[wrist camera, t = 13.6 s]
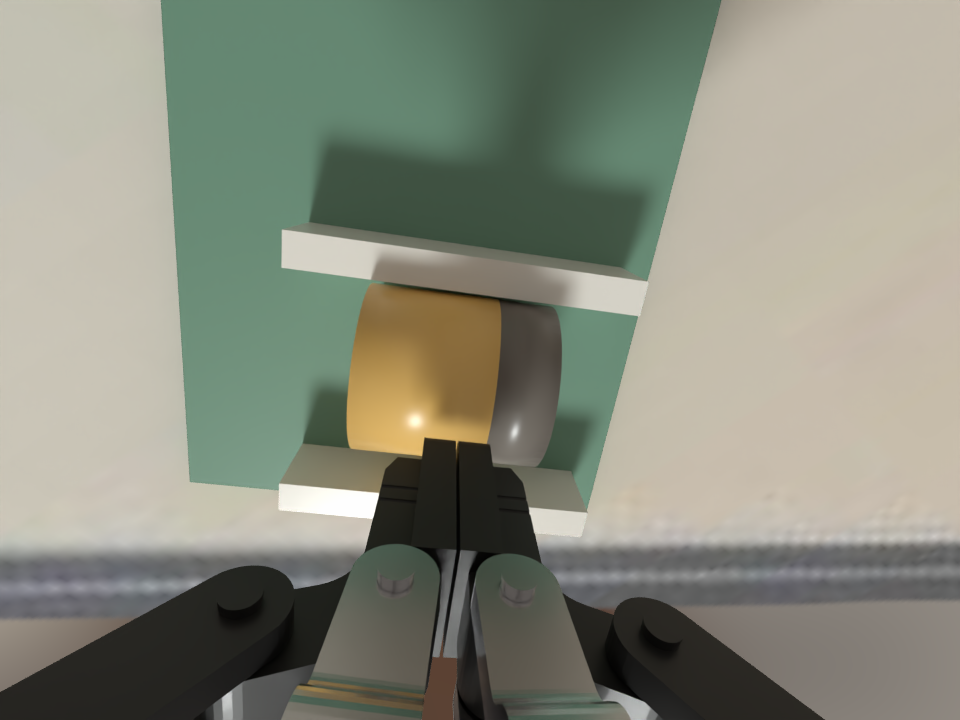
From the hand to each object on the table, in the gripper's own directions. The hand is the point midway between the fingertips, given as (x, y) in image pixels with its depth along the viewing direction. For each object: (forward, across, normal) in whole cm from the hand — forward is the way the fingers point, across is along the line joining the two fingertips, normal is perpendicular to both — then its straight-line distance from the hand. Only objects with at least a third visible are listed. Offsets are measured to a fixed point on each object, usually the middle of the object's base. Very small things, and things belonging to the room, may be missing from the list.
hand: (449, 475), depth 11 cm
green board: (+7, +2, -4) cm, 8 cm away
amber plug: (+6, 0, 0) cm, 6 cm away
